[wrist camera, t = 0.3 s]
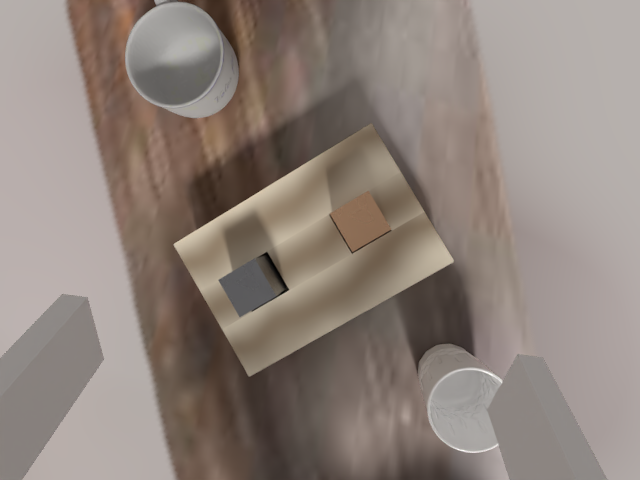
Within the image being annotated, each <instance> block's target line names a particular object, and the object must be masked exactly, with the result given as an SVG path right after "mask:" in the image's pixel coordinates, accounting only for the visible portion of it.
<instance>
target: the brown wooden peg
mask: <svg viewBox="0 0 640 480" xmlns="http://www.w3.org/2000/svg"><path fill="white" fill-rule="evenodd" d="M330 215H331V217H332V218H333V220H334V222H335V223H336V225H337V227H338V229H339V230H340V232H341V234H342V235H343V237H344V239H345V240H346V242H347V244H348V246H349V247H350V249H351V251H352V252H353V251H355V250H357V249H359V248H360V247H362V246H364V245H365V244H367V243H369V242H371V241H372V240H374V239H376V238H378V237H379V236H381V235H383V234H384V233H386V232H388V231H390V230H391V228H390V226H389V224H388V223H387V221H386V219H385V218H384V216H383V214H382V213H381V211H380V209H379V207H378V206H377V204H376V202H375V201H374V199H373V197H372V196H371V194H370V192H369V191H367V192H365V193H363V194H362V195H360V196H358V197H357V198H355V199H353V200H352V201H350V202H348V203H347V204H345V205H343V206H342V207H340V208H338V209H337V210H335V211H333V212H332V213H330Z"/></svg>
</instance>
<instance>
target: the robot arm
mask: <svg viewBox="0 0 640 480" xmlns="http://www.w3.org/2000/svg"><path fill="white" fill-rule="evenodd" d="M103 360H104V357H103V354H102V350H101V346H100V342H99V339H98V335H97V331H96V327H95V324H94V320H93V316H92V313H91V309H90V305H89V301H88V298H87V297H80V296H73V295H65V294H62V295H61V296H60V297H59V298H58V299H57V300H56V301H55V302H54V303H53V304H52V305H51V306H50V307H49V309H47V310H46V311H45V312H44V313H43V315H42V316H41V317H40V318H39V319H38V320H37V321H36V322H35V323H34V324H33V325H32V326H31V327H30V328H29V329H28V330H27V331H26V332H25V333H24V334H23V335H22V336H21V337H20V338H19V339H18V340H17V341H16V342H15V343H14V345H13V346H12V347H11V348H10V349H9V350H8V351H7V352H6V353H5V354H4V355H3V356H2V357H1V358H0V480H22V479H23V478H24V476H25V475H26V473H27V472H28V470H29V468H30V467H31V466H32V464H33V463H34V461H35V460H36V458H37V457H38V455H39V454H40V453H41V451H42V450H43V448H44V447H45V445H46V444H47V442H48V441H49V439H50V438H51V436H52V435H53V433H54V432H55V430H56V429H57V428H58V426H59V424H60V423H61V421H62V420H63V419H64V417H65V416H66V414H67V413H68V411H69V410H70V408H71V407H72V405H73V404H74V403H75V401H76V400H77V398H78V397H79V395H80V394H81V392H82V391H83V389H84V388H85V386H86V385H87V383H88V382H89V381H90V379H91V378H92V376H93V375H94V373H95V372H96V370H97V369H98V367H99V366H100V364H101V363H102V361H103ZM487 411H488V414H489V417H490V420H491V423H492V426H493V429H494V433H495V436H496V439H497V442H498V445H499V448H500V451H501V454H502V457H503V460H504V463H505V466H506V469H507V472H508V475H509V479H510V480H607V478H606V476H605V474H604V472H603V470H602V469H601V467H600V465H599V463H598V461H597V459H596V457H595V455H594V453H593V451H592V450H591V448H590V446H589V444H588V442H587V440H586V438H585V436H584V434H583V432H582V431H581V429H580V427H579V425H578V423H577V421H576V419H575V417H574V415H573V414H572V412H571V410H570V408H569V406H568V404H567V402H566V400H565V398H564V396H563V395H562V393H561V391H560V389H559V387H558V385H557V383H556V381H555V379H554V378H553V376H552V374H551V372H550V370H549V368H548V366H547V364H546V362H545V360H544V359H543V357H535V356H528V355H520V354H518V355H517V357H516V358H515V360H514V362H513V364H512V366H511V367H510V369H509V371H508V373H507V375H506V376H505V378H504V380H503V382H502V384H501V385H500V387H499V389H498V391H497V393H496V394H495V396H494V398H493V400H492V402H491V403H490V405H489V407H488V409H487Z"/></svg>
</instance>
